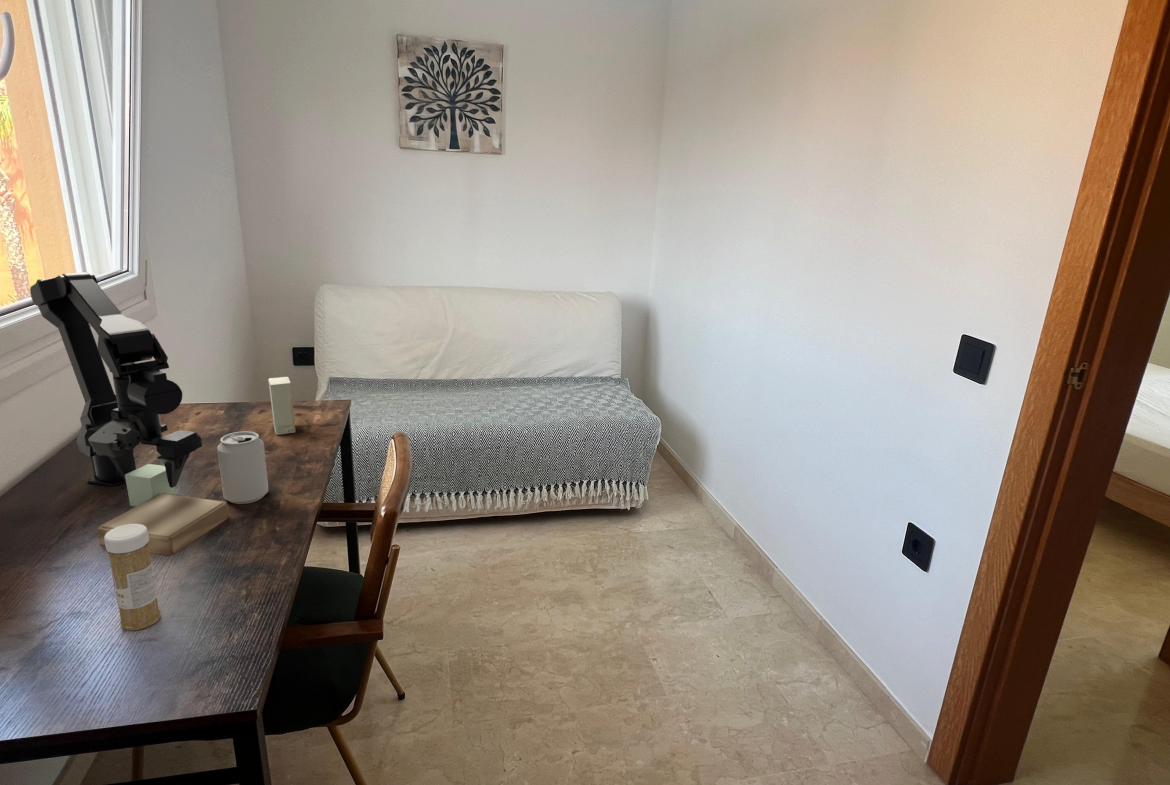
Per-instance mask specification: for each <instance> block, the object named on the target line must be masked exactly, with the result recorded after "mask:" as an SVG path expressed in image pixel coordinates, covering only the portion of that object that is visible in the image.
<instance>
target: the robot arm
mask: <svg viewBox="0 0 1170 785" xmlns="http://www.w3.org/2000/svg"><path fill="white" fill-rule="evenodd" d="M29 291H30V297H31V300H32V303H33V304H34V305H35V306H37V307H38V309H39V310H38V311H39V312H40V314H41V316H42V317H43V319H45V321H47V322H49V323H50V324H52V325H53V326H55V328H57V329H58V332H59V334H60V337H61V340H62V343H63V345H64V348H65V350H66V353H67V356H68V360H69V362H70V365H71V366H72V369H73V372H74V375H75V378H76V380H77V383H78V386H79V388H80V392H81V395H82V397H83V401H84V403H85V404H84V406H83V409H82V413H81V415H80V417H79V422H80V424H81V426H80V429H79V432H78V435H77V438H76V444H77V447H78V450H79V452H80V453H82V454H84V455H85V456H87V457H88V458H90V461H91V468H92V471H93V476H92V477H91V476H90V477H89V478H87V479H86V482H87V483H93V484H97V485H106V486H113V487H116V486H118V485H121V484H123V483H126V478H125V475H126V474H128V473H130V472H132V471H134V470H136V469H137V466H136V461H135V460H136V459H135V454H134V449H135V448H136V447H137V446H139V445H140V444H141V445H146V446H147V445H148V446H154V447H156V452H157V453H158V454H159V456H157V457H156V458H157V460H159V461H161V462H162V463H163V464H164V465H163V466H165V470H166V474H167V479H168V483H169V486H170V488H173V487H175V488H176V486H177V485H178V482H179V480H180V477H181V475H182V473H183V470H184V468H185V464H186V463H187V460H188V459H189V457H190V455H191V453H193V452H195V451H197V450H198V449H200V448H202V447H203V443H202V436H201V434H199V433H198V432H196V431H188V430H182V429H181V430H180V429H179V430H176V431H174V432H172V433H170V434H167V435H163V434H162V433H164V432H166V431H168V425H167V424H165V423H161V416H160V415H167V414H170V413H173V412H174V411H175V410H176V409H178V407H179V406H180V405H181V403H182V400H183V390H182V388H180V386H179V385H178V383H176V382H174V381H172V380H171V379H168V377H167V373H166V371H161V370H166V369H169V368H170V365H169V363H168V359H169V357H168V355H167V354H166V352H165V350H164V348H163V347H162V345H161V344H160V342H159V340H158V338H157V337H156V335H155V334H154V333H153V332H151V330H150V329H149V328H148V327H147V326H145V325H144V323H142V322H140V321H139V320H136V319H133V318H131V317H126V316H125V315H124V314H123V313H122V312H121V310H120V308H118V307H117V305H116V304H115V303H114V302H113V300H111V298H110V297H109V296H108V294H106V292H105V291H104V289H103V288H102V287H101V286H100V285H99V283H98V280H97V276H96V275H95V274H94V273H89V272H87V271H85V272H84V271H83V272H71V273H70V272H69V273H62V274H61V275H57V276H56V277H53V278H52V277H51V278H39V279H37V280H36V282H35V283H34V284H33V285H31V286H30V290H29ZM91 327H92V328H91ZM92 329H93V330H94V331H95V333H96V334H97V335H98V336H97V337H98V338H97V339H98V340H97V342H96V339H95V336H94V334H93V331H92ZM152 358H153V360H152ZM104 363H105V364H104ZM105 365H106V366H107V367H108V370H109V372H110V373H111V374H112V380H113V386H114V389H113V386H112V383H111V381H110V378H109V375H108V373H107V370H106V366H105Z"/></svg>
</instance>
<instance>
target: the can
mask: <svg viewBox="0 0 1170 785" xmlns="http://www.w3.org/2000/svg"><path fill="white" fill-rule="evenodd" d="M219 440H220V443H219V444H218V446H217V447H216V449H217V450H216V451H217V456H218V465H219V472H220V473H219V474H220V480H221V489H222V495H223V499H225V500H226V501H227V502H230V503H231V504H236V505H244V504H246V505H247V504H251V503H255V502H257V501H259V500H261V499H262V498H264V496H266V494H268V493H269V482H268V472H267V471H268V470H267V464H266V462H267V461H266V453H265V452H266V451H265V443H264V440H262V439H260V435H259V434H258V433H257V432H254V431H249V430H248V431H245V430H244V431H243V430H242V431H237V432H236V431H234V432H232V433H228V434H225V435H224V436H222V437H221V438H220V439H219Z"/></svg>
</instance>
